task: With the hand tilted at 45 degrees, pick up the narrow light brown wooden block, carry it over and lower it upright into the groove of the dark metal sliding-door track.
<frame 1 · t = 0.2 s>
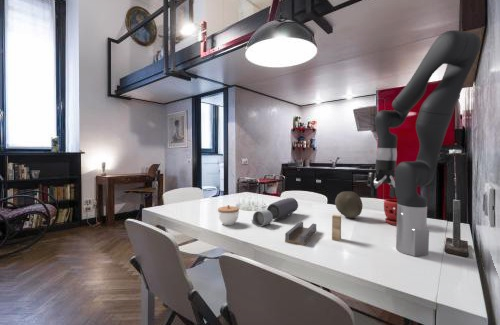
hand: (383, 197, 104), 18 cm above the table, tool pointing down, fingers open, 8 cm apart
door track: (301, 236, 107), on the table
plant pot: (397, 224, 127), on the table
cantaloupe: (348, 217, 139), on the table
ceramic mug: (260, 225, 125), on the table
bluetooth speaker: (283, 217, 140), on the table
light brown wooden block: (336, 239, 104), on the table
lidded jar: (228, 223, 127), on the table
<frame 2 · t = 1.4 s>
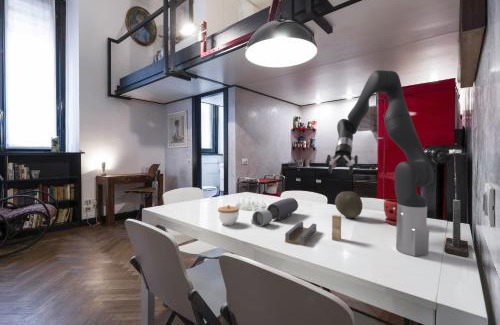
hand: (339, 173, 114), 27 cm above the table, tool tilted 45°, fingers open, 8 cm apart
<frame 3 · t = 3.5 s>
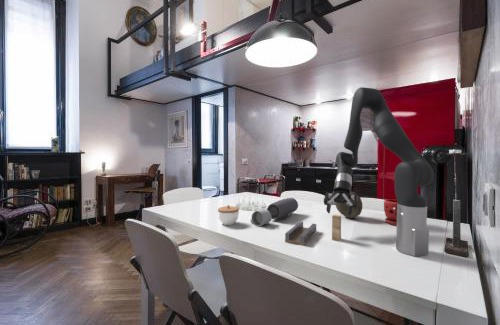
hand: (338, 213, 108), 10 cm above the table, tool tilted 45°, fingers open, 8 cm apart
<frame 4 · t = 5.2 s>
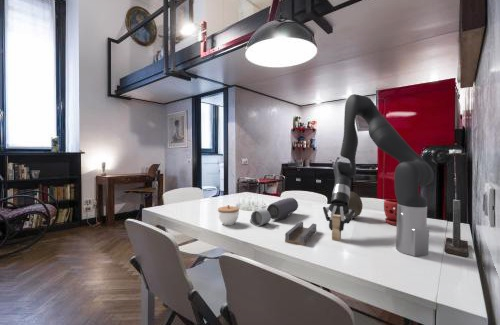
hand: (335, 229, 102), 4 cm above the table, tool tilted 45°, fingers closed on light brown wooden block, 3 cm apart
light brown wooden block: (336, 239, 104), on the table, touching gripper
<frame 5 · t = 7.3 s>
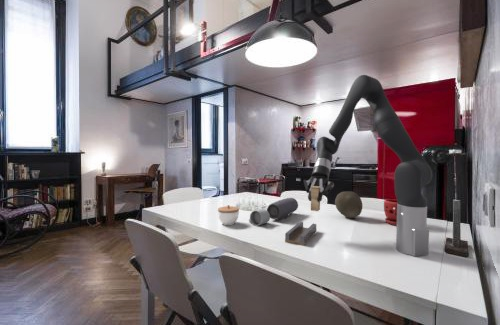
hand: (314, 200, 104), 16 cm above the table, tool tilted 45°, fingers closed on light brown wooden block, 3 cm apart
light brown wooden block: (315, 209, 106), point 12 cm above the table, touching gripper
when the fingers open (6 cm above the table, at t = 9.5 s): light brown wooden block stays where it is, resting on door track.
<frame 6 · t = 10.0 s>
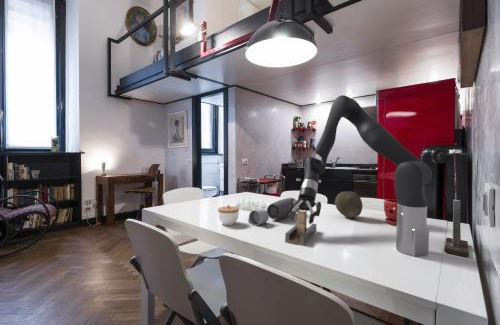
hand: (300, 221, 105), 7 cm above the table, tool tilted 45°, fingers open, 7 cm apart
light brown wooden block: (301, 234, 107), point 1 cm above the table, touching door track
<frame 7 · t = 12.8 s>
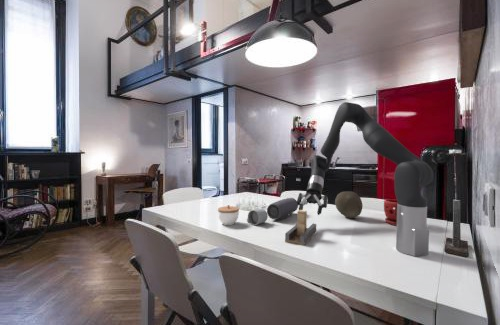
hand: (309, 212, 117), 8 cm above the table, tool tilted 45°, fingers open, 8 cm apart
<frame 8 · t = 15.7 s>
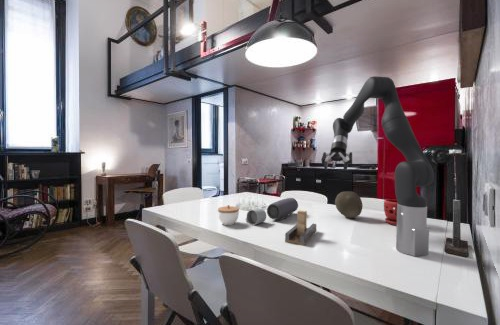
hand: (335, 169, 118), 29 cm above the table, tool tilted 45°, fingers open, 8 cm apart
at the end: light brown wooden block inside the target area on the door track (0.1 cm from its centre), point 1.0 cm above the door track's base; light brown wooden block tilted 0°; the gripper is holding nothing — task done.
